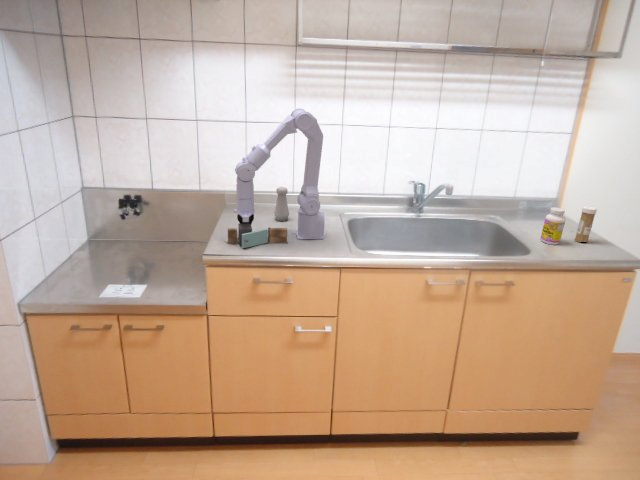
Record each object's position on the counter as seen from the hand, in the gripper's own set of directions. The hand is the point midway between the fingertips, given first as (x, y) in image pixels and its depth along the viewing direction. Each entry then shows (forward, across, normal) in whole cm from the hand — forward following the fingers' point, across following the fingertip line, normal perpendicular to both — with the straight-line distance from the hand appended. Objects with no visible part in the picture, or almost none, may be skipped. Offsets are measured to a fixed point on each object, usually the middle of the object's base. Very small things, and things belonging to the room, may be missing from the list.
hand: (245, 234), depth 158 cm
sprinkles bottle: (+2, +8, +125) cm, 125 cm away
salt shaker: (+2, -20, +14) cm, 25 cm away
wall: (+1, +4, +4) cm, 6 cm away
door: (+1, +7, +3) cm, 8 cm away
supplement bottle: (+2, +8, +112) cm, 112 cm away
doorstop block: (+1, +4, 0) cm, 4 cm away
